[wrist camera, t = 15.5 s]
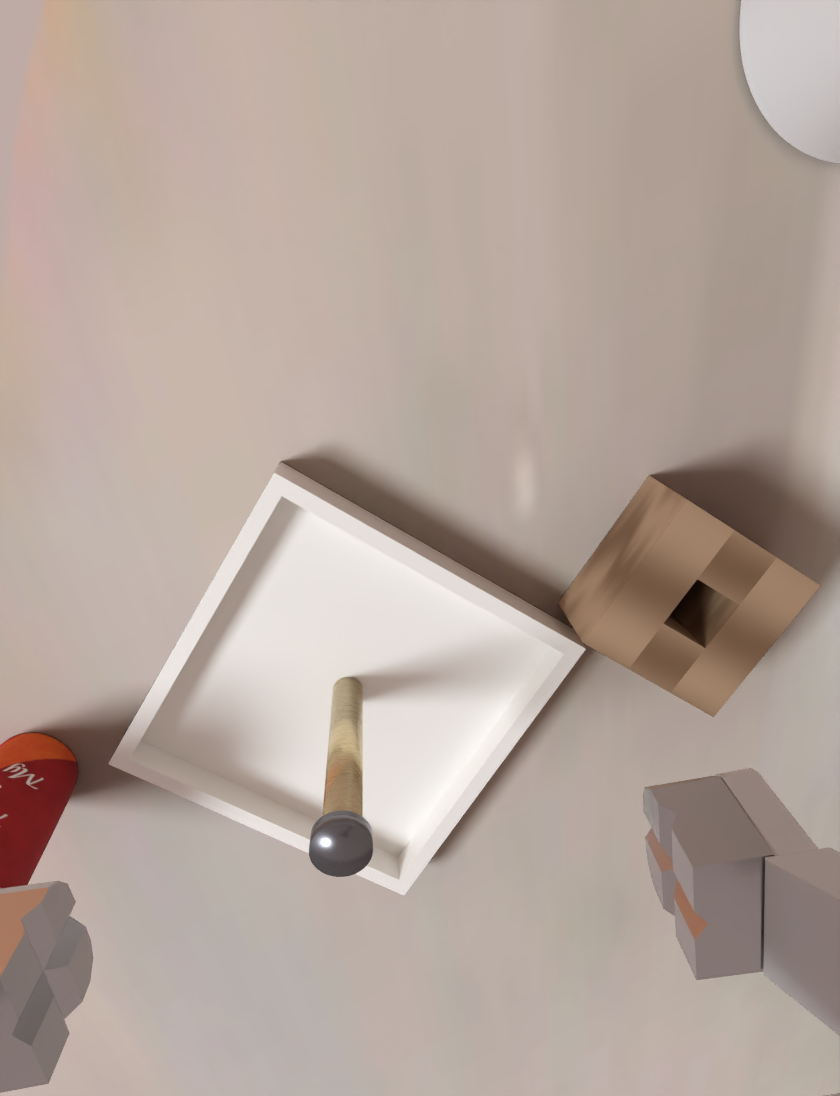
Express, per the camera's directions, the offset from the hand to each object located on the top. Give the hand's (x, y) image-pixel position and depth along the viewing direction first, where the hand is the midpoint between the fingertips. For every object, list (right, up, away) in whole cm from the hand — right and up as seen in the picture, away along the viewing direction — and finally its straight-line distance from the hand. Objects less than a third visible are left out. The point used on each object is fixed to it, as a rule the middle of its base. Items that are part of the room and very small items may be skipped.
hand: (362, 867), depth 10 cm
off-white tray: (-4, -5, +39) cm, 40 cm away
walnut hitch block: (+17, +3, +39) cm, 42 cm away
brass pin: (-4, -5, +39) cm, 39 cm away
